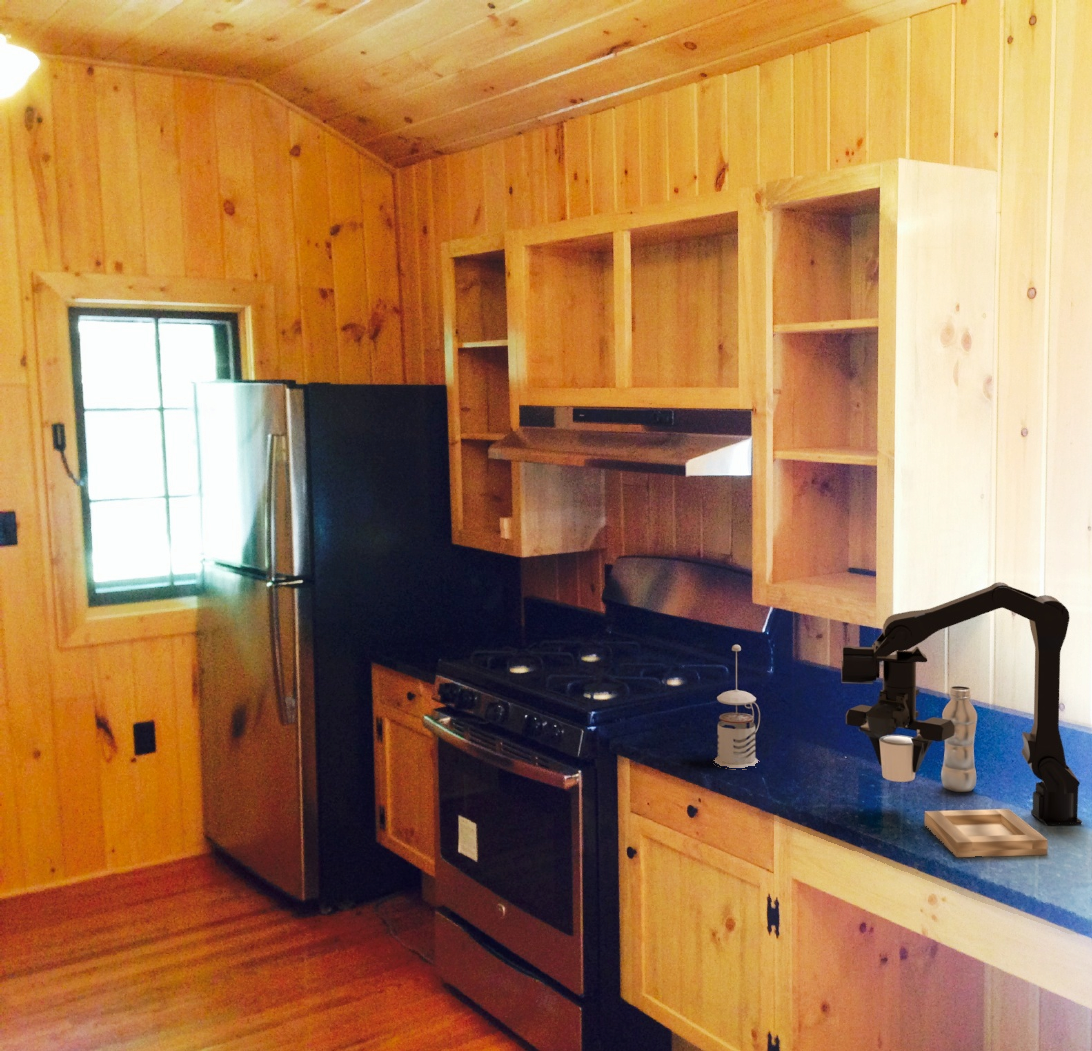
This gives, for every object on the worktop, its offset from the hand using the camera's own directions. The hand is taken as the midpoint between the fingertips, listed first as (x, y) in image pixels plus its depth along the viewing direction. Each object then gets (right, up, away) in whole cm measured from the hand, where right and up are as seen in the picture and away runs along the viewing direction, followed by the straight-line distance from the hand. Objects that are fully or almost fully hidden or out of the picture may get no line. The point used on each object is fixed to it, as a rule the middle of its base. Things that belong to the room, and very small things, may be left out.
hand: (898, 768), depth 215 cm
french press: (-24, -5, +32) cm, 40 cm away
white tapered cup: (0, -2, 0) cm, 2 cm away
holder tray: (+10, -9, -14) cm, 20 cm away
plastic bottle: (+15, -7, +11) cm, 20 cm away
